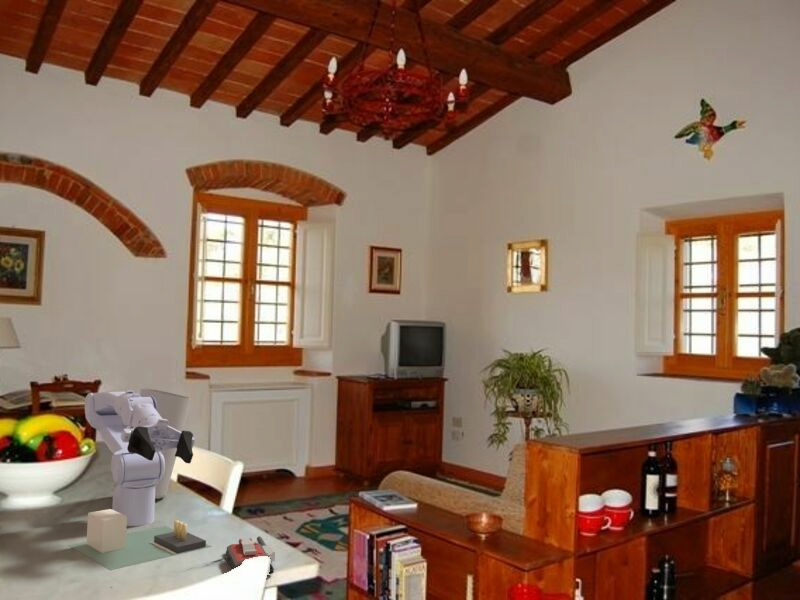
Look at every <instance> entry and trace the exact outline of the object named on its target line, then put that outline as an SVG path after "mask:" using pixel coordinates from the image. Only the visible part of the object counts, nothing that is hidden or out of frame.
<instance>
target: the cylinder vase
mask: <svg viewBox="0 0 800 600" xmlns="http://www.w3.org/2000/svg"><path fill="white" fill-rule="evenodd" d="M139 394H140V396H141V397H149V396H153V397H154V398H155V400H156V403H157V412H158V413H159V415H160V416H161V417H162V419H167V420H168V421H169V423H168V425H169V426H170V427H172V428H174V429H176V430H178V431H180V432H182V431H185V430H184V429H185V426H186V421H187V418H188V415H189V411H190V406H191V403H192V398H191V397H189V396H185V395H181V394H176V393H172V392H169V391H168V392H167V391H163V390H158V389H152V388H148V387H147V388H146V387H140V391H139ZM129 427H130V428H129V429H133V426H129ZM176 451H177V448H173V449H169V450H165V451H160V452H161V453H162V454H163V456H164V460H165V472H164V475H163V477H162V478H161V480H158V484H156V486H155V500H156V499H163V498H165V497H166V496H167V494H168V489H169V485H170V482H171V479H172V475H173V472H174V471H173V470H174V467H175V463H176V459H177V457H175V454H176ZM117 485H118V484H116V482H115V481H114V487H113V488H114V489H115V488H116V487H117Z"/></svg>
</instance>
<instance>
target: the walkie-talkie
mask: <svg viewBox="0 0 800 600" xmlns="http://www.w3.org/2000/svg"><path fill="white" fill-rule="evenodd" d="M225 556H226V561H227V564H228V566H229V568H230V570H231V569H234V568H236V567H238V566H240V565H241V564H242V562H243V561H244V560H245V559H249V558H253V557H258V556H268V557H270V559H271V563H272V562H273V561H274V562H275V560H276V552H275V549H274V547H273V545H272V544H268V545H267V544H266V543H265V541H264V539H263V537H262V536H257V537H256V542H254V541H253V539H252V538H251V537H247V538H239V540H238V543H233V544H230V545H227V546H226V551H225ZM274 562H273V563H274ZM273 563H272V564H270V572H269V574H270V575H272V574H274V570H275V569H274V566H273Z"/></svg>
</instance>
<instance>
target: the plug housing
mask: <svg viewBox="0 0 800 600" xmlns="http://www.w3.org/2000/svg"><path fill="white" fill-rule="evenodd" d="M86 527H87V528H86V542H87V545H89V546H91V547H93V548H94V549H96V550H98V551H100V552H101V553H105V552H110V551H115V550H119V549H124V548H126V534H127V530H128V528H127V527H128V526H127V516H125V515H123V514H121V513H119V512H117V511H114V510H112V509H111V508H108V509H101V510H96V511H90V512H87V526H86Z"/></svg>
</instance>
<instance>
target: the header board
mask: <svg viewBox="0 0 800 600" xmlns="http://www.w3.org/2000/svg"><path fill="white" fill-rule="evenodd" d="M173 522H174V523H173V528H172V527H169V526H166V525H163V526H158V527H152V528H147V529H143V530H138V531H132V532H128V533H127V532H126V548H124V549H119V550H115V551H110V552H105V553H101V552H100V551H98V550H96V549H94V548H93V547H91V546H89V545H87V541H83V542H78V543H74V544H69V545H68V546H69V547H71V548H73V549H75V551H77V552H79V553H81V554H82V555H84V556H86V557H87V558H89V559H91V560H93V562H94V561H95V562H96V563H98V564H99V565H101V566H102V567H104V568H106V569H107V570H108V571H113V570H118V569H122V568H126V567H130V566H135V565H138V564H143V563H147V562H151V561H157V560H161V559H165V558H170V557H173V556H177V555H182V554H188V553H190V552H195V551H199V550H203V549H207V548H211V547H212V546H211V545H209V544H207V540H206V539H204V538H202V537H201V538H200V537H198V536H196V535H194V534H192V533H190V532H188V531H187V529H188V524H187V523H184V522H183V521H180V520H174V521H173Z"/></svg>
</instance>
